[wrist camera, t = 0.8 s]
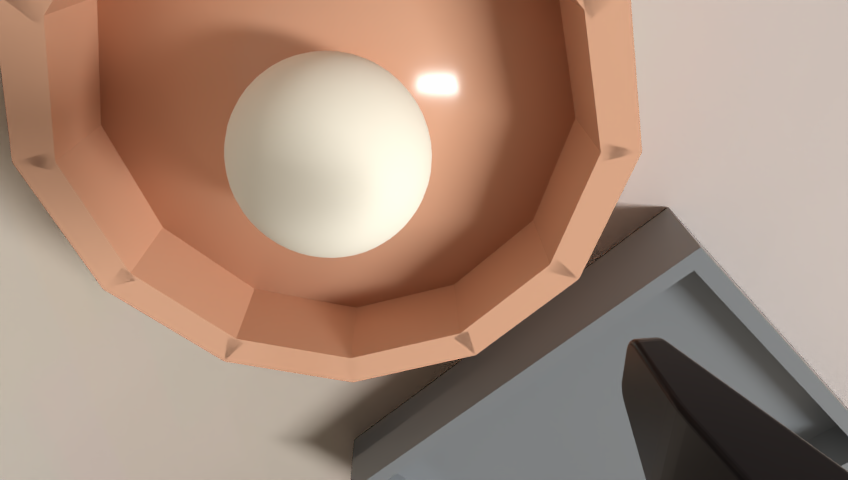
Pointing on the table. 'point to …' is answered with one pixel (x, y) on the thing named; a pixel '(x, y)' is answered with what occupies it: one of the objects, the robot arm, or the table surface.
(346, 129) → the ball
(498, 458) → the tray
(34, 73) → the bowl
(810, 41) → the table surface
